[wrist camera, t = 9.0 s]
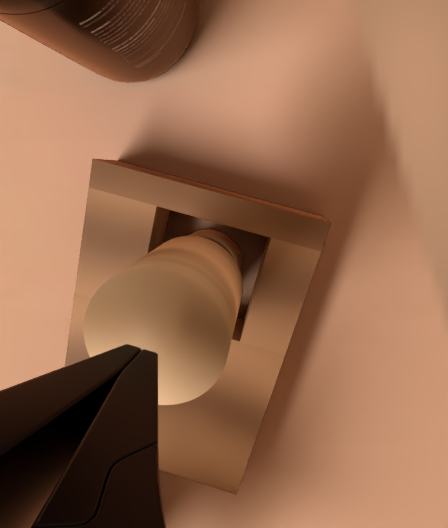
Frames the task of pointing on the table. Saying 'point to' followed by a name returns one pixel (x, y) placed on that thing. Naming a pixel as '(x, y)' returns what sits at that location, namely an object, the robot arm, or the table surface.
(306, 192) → the table surface
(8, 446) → the robot arm
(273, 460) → the table surface
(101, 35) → the supplement bottle
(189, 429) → the board
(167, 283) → the peg
